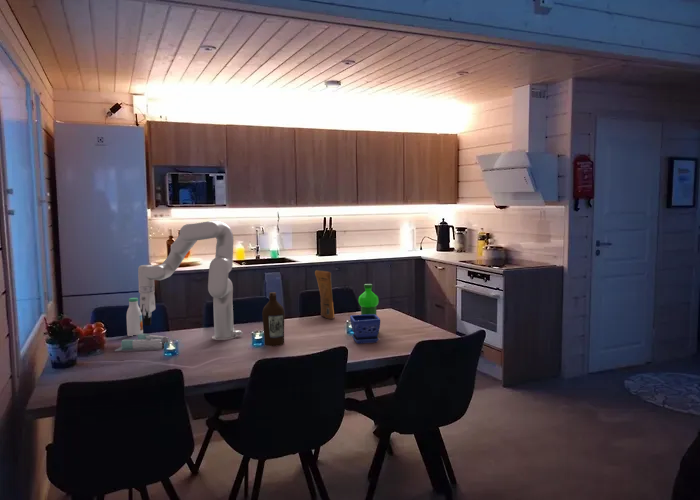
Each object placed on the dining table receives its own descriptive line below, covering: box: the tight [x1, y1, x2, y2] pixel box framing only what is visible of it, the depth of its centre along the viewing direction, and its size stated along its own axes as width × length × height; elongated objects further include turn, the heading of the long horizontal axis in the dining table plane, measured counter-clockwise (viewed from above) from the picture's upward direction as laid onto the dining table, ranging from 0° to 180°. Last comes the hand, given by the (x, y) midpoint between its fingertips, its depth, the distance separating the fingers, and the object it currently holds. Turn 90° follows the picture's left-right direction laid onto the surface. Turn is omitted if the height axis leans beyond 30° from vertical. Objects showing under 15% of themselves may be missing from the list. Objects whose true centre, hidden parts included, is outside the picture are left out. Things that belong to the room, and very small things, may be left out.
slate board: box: [114, 338, 182, 352], centre depth 267 cm, size 26×20×1 cm
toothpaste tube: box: [137, 332, 170, 346], centre depth 268 cm, size 19×3×4 cm, turn 64°
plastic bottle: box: [357, 283, 379, 315], centre depth 285 cm, size 10×10×25 cm
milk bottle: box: [126, 297, 144, 337], centre depth 292 cm, size 8×8×20 cm
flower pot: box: [349, 314, 381, 345], centre depth 266 cm, size 13×13×12 cm
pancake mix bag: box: [314, 269, 335, 320], centre depth 329 cm, size 7×19×28 cm, turn 25°
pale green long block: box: [120, 336, 169, 350], centre depth 260 cm, size 21×4×5 cm, turn 92°
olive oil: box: [261, 291, 285, 347], centre depth 265 cm, size 11×11×25 cm
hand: (147, 325), depth 279 cm, fingers closed
